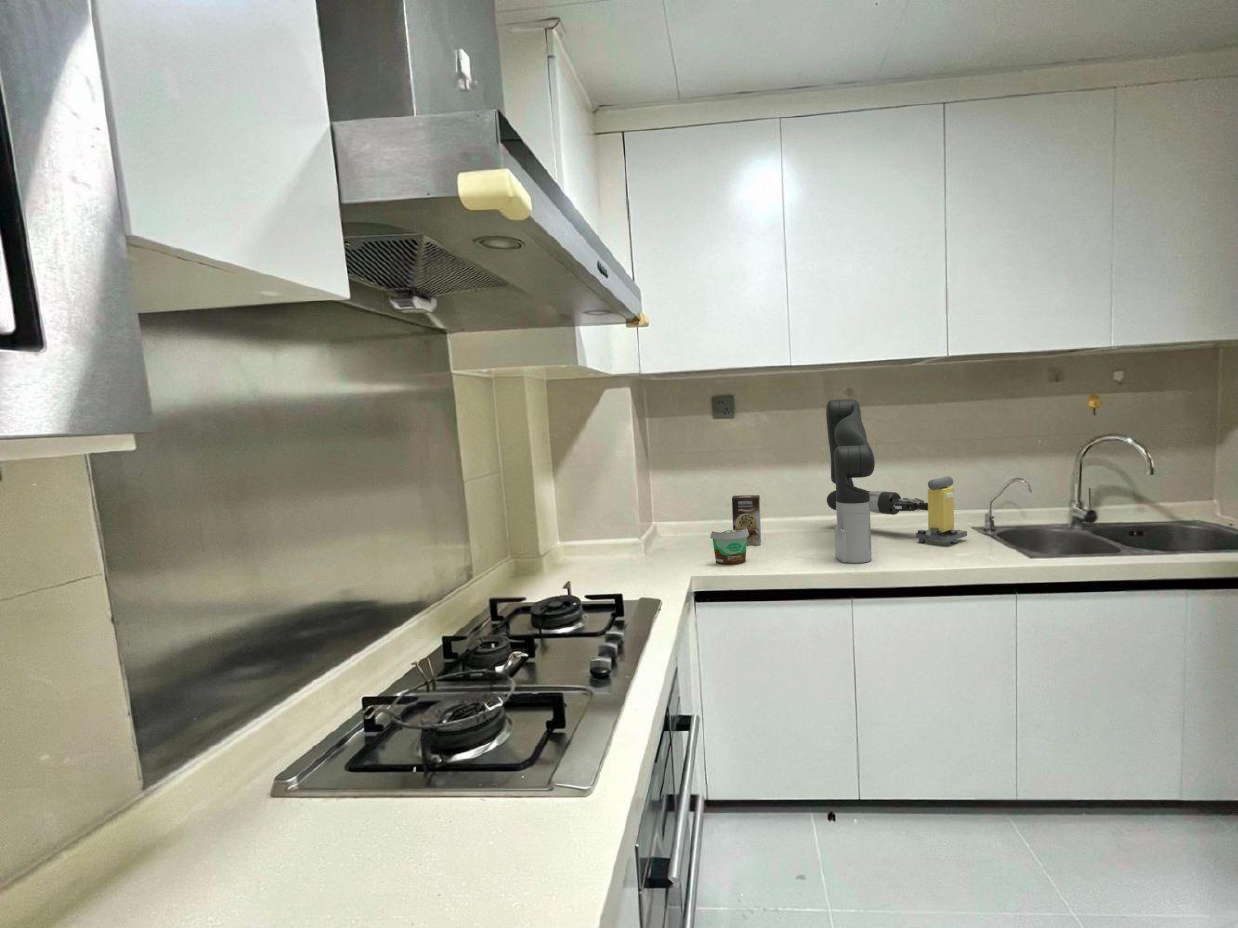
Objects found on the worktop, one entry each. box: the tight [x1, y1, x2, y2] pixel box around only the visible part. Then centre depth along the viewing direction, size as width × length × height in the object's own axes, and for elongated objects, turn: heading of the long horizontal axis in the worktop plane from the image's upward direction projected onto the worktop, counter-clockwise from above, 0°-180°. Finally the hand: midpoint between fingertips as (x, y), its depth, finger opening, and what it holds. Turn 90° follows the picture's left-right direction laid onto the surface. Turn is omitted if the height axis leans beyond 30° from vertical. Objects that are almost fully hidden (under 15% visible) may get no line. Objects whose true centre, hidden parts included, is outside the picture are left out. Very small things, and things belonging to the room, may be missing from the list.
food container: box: [710, 526, 749, 566], centre depth 197 cm, size 12×6×10 cm, turn 112°
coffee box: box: [731, 494, 762, 546], centre depth 222 cm, size 9×6×16 cm
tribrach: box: [915, 527, 968, 545], centre depth 208 cm, size 12×10×5 cm
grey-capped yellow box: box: [927, 475, 955, 532], centre depth 207 cm, size 9×6×17 cm, turn 126°
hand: (932, 507), depth 209 cm, fingers closed
